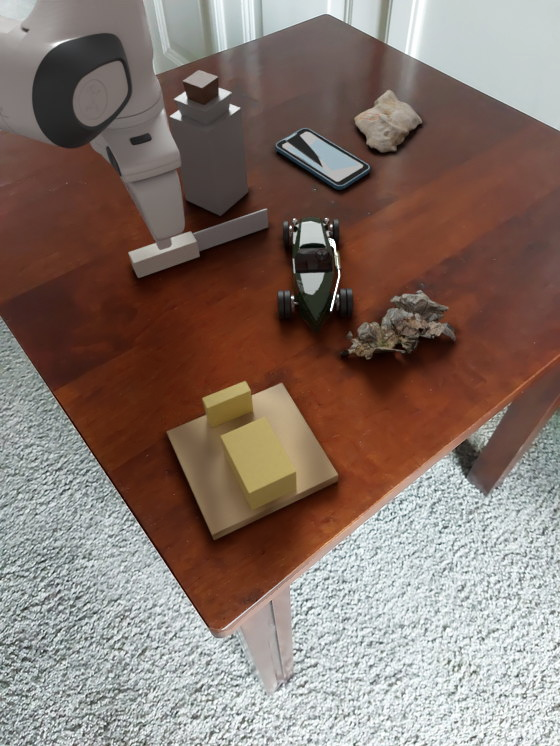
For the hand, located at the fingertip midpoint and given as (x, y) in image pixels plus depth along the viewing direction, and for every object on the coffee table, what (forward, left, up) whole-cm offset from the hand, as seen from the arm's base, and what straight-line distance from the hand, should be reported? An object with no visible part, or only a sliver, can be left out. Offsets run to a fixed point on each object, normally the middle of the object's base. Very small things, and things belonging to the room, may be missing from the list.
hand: (151, 223), depth 76 cm
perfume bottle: (+12, +10, -7) cm, 18 cm away
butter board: (-2, -33, -7) cm, 34 cm away
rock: (+22, -25, -7) cm, 34 cm away
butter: (-2, -35, -6) cm, 36 cm away
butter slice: (-2, -28, -6) cm, 28 cm away
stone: (+44, +13, -7) cm, 47 cm away
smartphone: (+30, +10, -7) cm, 33 cm away
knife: (+6, 0, -7) cm, 10 cm away
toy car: (+17, -13, -7) cm, 22 cm away
